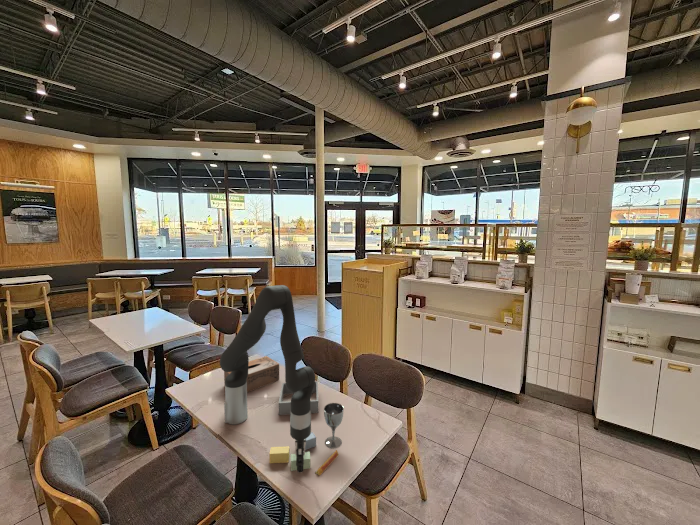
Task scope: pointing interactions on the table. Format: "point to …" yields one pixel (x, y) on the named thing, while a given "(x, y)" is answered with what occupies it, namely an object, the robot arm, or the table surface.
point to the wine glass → (333, 423)
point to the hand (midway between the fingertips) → (300, 462)
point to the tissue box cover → (260, 373)
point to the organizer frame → (286, 406)
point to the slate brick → (310, 441)
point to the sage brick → (306, 461)
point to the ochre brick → (279, 454)
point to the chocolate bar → (327, 463)
